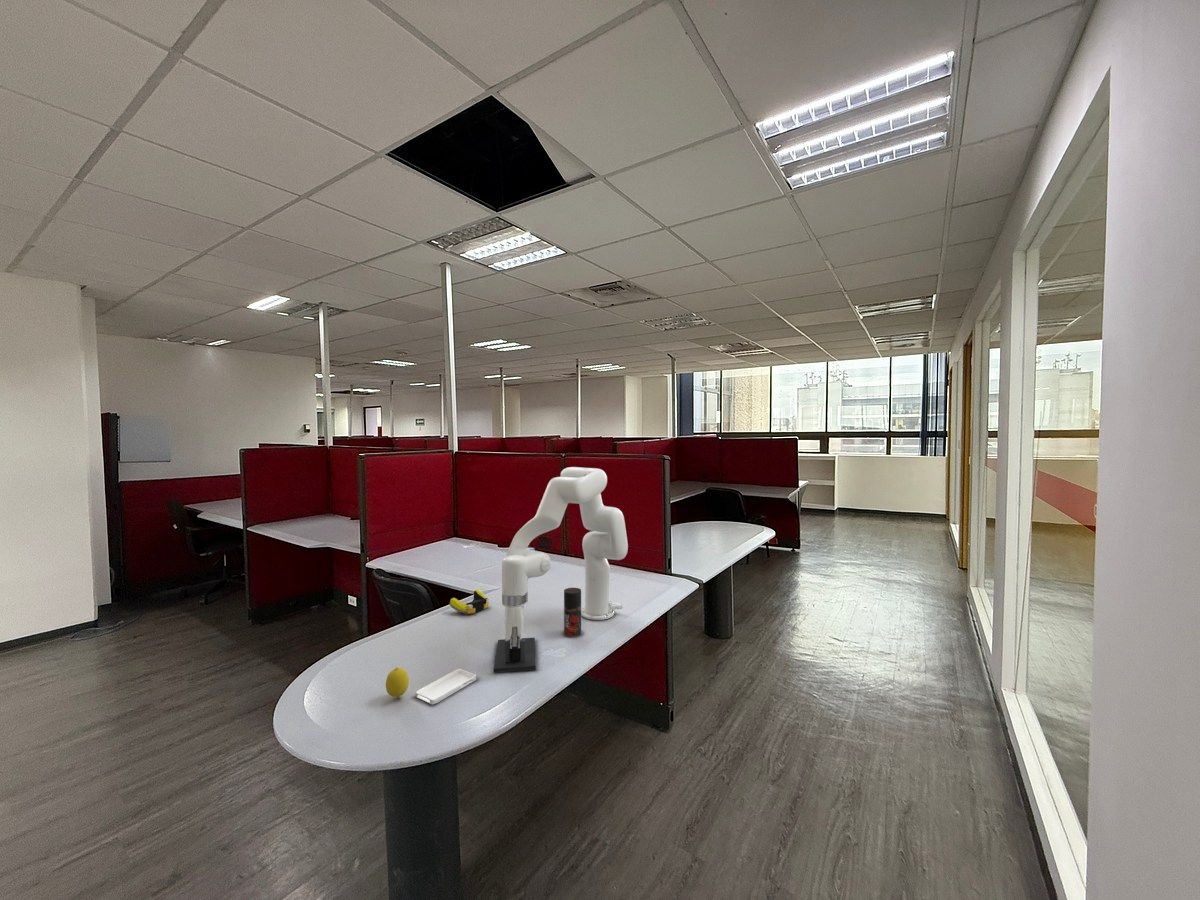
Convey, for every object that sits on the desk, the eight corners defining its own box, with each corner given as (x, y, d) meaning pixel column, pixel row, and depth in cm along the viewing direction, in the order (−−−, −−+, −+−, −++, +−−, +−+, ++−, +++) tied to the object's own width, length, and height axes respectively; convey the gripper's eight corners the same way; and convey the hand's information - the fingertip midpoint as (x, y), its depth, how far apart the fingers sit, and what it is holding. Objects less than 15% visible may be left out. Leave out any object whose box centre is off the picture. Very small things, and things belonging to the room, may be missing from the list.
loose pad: (535, 652, 149) (535, 630, 149) (535, 669, 139) (535, 645, 139) (495, 655, 148) (495, 632, 147) (493, 672, 137) (493, 648, 137)
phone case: (459, 672, 138) (414, 697, 125) (459, 667, 138) (414, 691, 125) (477, 679, 134) (433, 705, 121) (477, 674, 134) (433, 700, 121)
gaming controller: (447, 612, 183) (464, 618, 178) (447, 598, 183) (464, 603, 177) (477, 601, 196) (494, 606, 190) (477, 588, 196) (494, 592, 190)
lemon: (390, 692, 127) (389, 663, 127) (411, 691, 128) (411, 662, 127) (382, 704, 122) (382, 673, 121) (405, 703, 122) (404, 672, 122)
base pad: (534, 640, 159) (534, 637, 159) (535, 657, 147) (535, 653, 147) (498, 643, 157) (498, 639, 157) (495, 660, 145) (495, 656, 145)
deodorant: (583, 631, 166) (583, 588, 166) (577, 638, 161) (577, 594, 160) (568, 628, 168) (568, 586, 168) (561, 635, 163) (561, 592, 162)
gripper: (503, 590, 148) (503, 648, 149) (500, 608, 133) (500, 673, 134) (527, 588, 150) (527, 646, 150) (527, 606, 134) (528, 671, 135)
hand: (515, 658), depth 142 cm, fingers closed on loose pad
